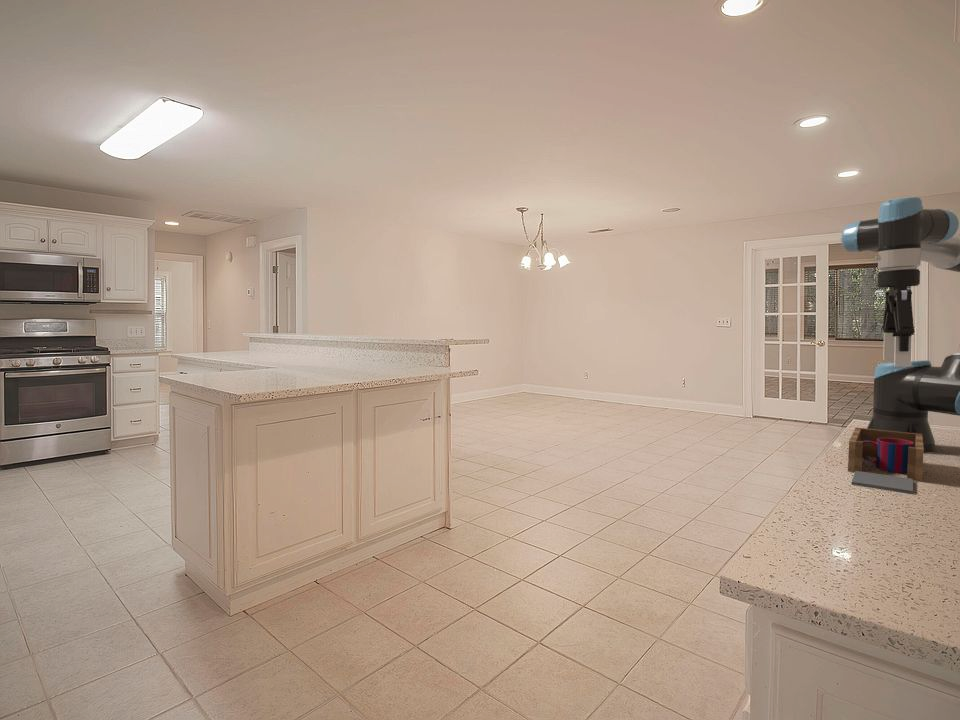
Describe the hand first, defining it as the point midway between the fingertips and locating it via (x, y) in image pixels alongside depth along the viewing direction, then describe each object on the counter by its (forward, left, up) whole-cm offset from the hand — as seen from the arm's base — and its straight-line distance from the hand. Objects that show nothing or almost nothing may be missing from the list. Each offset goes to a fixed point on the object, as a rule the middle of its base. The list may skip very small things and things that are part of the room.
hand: (896, 363), depth 120 cm
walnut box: (0, -1, -25) cm, 25 cm away
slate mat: (+14, +4, -25) cm, 29 cm away
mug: (+2, -1, -25) cm, 25 cm away
